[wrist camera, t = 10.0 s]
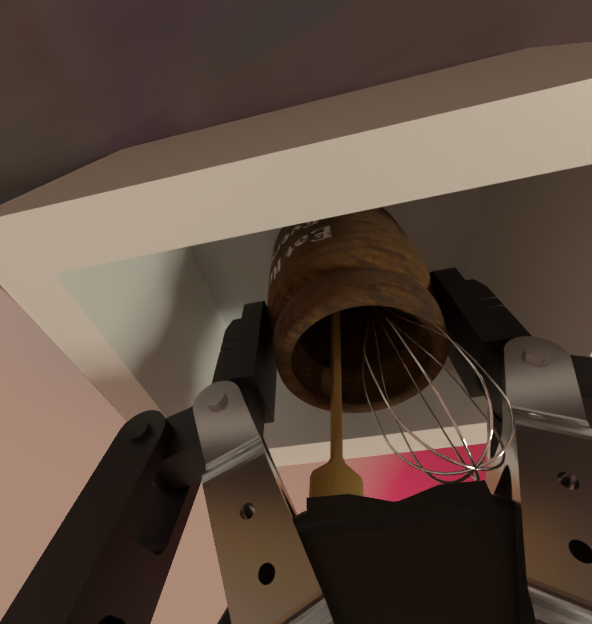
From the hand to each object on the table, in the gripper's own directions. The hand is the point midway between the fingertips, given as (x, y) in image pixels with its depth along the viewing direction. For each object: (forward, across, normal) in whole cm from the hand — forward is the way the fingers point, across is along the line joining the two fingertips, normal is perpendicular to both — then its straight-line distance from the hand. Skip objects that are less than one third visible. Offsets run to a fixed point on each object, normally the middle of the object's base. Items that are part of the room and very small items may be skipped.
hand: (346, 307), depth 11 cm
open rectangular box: (+7, 0, 0) cm, 7 cm away
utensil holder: (+4, 0, 0) cm, 4 cm away
